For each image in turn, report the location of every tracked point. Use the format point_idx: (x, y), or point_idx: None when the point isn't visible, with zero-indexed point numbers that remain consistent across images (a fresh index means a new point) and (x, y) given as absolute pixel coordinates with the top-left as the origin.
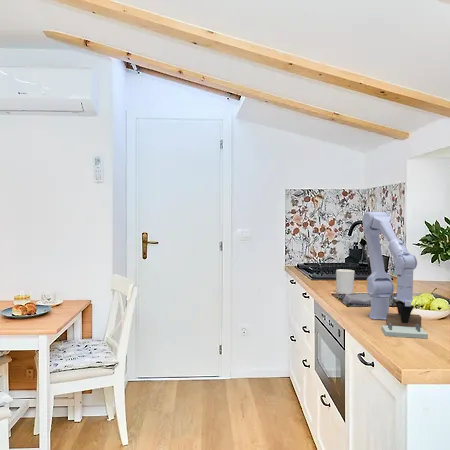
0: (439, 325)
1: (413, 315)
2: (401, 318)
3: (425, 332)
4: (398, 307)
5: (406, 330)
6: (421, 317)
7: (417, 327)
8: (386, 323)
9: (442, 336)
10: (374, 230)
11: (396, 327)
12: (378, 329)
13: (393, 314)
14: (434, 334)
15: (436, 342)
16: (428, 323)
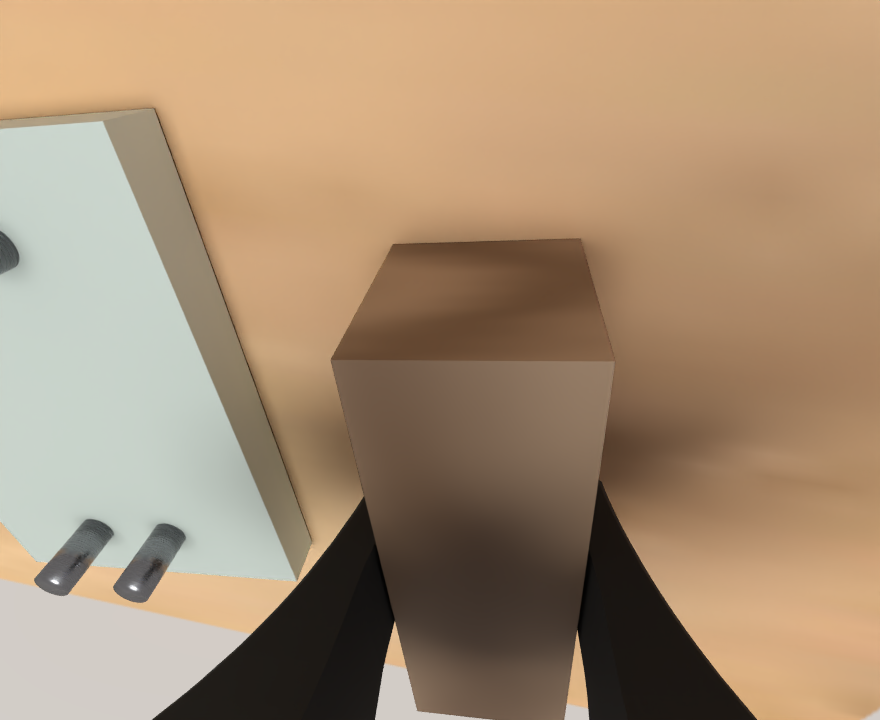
0: None
1: (483, 677)
2: (351, 517)
3: (98, 563)
4: (617, 702)
5: (34, 436)
6: (419, 703)
7: (53, 557)
8: (570, 246)
9: (229, 619)
10: None
11: (109, 353)
12: (97, 40)
13: (458, 468)
14: (263, 595)
15: (2, 548)
16: (709, 660)
